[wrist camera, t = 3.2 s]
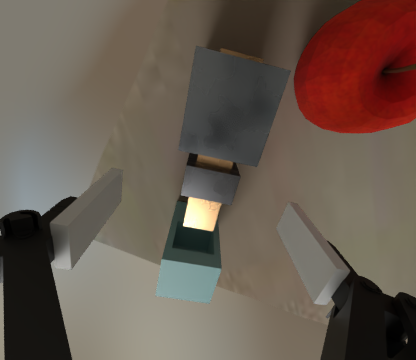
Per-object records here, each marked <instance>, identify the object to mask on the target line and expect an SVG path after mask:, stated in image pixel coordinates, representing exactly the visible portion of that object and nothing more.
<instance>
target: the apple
mask: <svg viewBox="0 0 416 360" xmlns="http://www.w3.org/2000/svg"><path fill="white" fill-rule="evenodd" d="M294 90H295V95H296V99H297V103H298V106H299V109H300V110H301V112H302V113H303V115H304V116H305V118H306V119H307V120H309V121H310V122H312V123H313V124H315V125H317V126H318V127H320V128H322V129H326V130H330V131H334V132H339V133H372V132H376V131H380V130H384V129H388V128H392V127H396V126H399V125H403V124H406V123H410V122H411V121H412V120H414V119H415V118H416V0H361V1H359V2H357V3H355V4H354V5H352V6H350V7H349V8H347V9H345V10H344V11H342V12H341V13H339V14H337V15H336V16H334V17H333V18H332V19H330V20H329V21H328V22H326V23H325V24H324V25H323V26H322V27H321V28H320V29H319V30H318V32H317V33H316V34H315V35H314V36H313V37H312V38H311V40H310V41H309V43H308V45H307V46H306V48H305V49H304V51H303V53H302V55H301V57H300V59H299V62H298V64H297V67H296V71H295V75H294Z"/></svg>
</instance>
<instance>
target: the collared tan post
mask: <svg viewBox="0 0 416 360" xmlns="http://www.w3.org/2000/svg"><path fill="white" fill-rule="evenodd" d="M220 52H222V53H226V54H229V55H233V56H237V57H241V58H244V59H248V60H252V61H256V62H260V63H263V60H264V59H261V58H257V57H253V56H249V55H246V54H242V53H238V52H234V51H231V50H227V49H223V48H221V49H220ZM239 180H240V174H239V171H238V168H237V165H236V162H231V161H227V160H222V159H217V158H213V157H208V156H203V155H199V154H194V153H190V154H189V158H188V162H187V166H186V171H185V176H184V181H183V186H182V192H181V195H182V196H187V197H189V198H188V202H187V207H186V212H185V218H184V224H183V226H186V227H192V228H197V229H203V230H209V231H213V230H214V227H215V223H216V220H217V216H218V213H219V210H220V206H221V203H223V204H228V205H232V202H233V199H234V195H235V192H236V189H237V186H238V183H239Z"/></svg>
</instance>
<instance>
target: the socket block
mask: <svg viewBox="0 0 416 360" xmlns="http://www.w3.org/2000/svg"><path fill="white" fill-rule="evenodd" d="M186 207H187V203H186V202H181V201H177V204H176V208H175V212H174V215H173V219H172V223H171V227H170V230H169V234H168V238H167V242H166V245H165V249H164V253H163V257H162V261H161V267H160V273H159V278H158V284H157V290H156V296H160V297H167V298H175V299H181V300H188V301H195V302H202V303H210V301H211V298H212V295H213V292H214V289H215V286H216V283H217V281H218V278H219V275H220V272H221V269H222V268H221V254H220V241H219V227H218V216H217V220H216V223H215V227H214V230H213V231H209V230H203V229H197V228H192V227H186V226H183V224H184V218H185V212H186Z"/></svg>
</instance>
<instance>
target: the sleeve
mask: <svg viewBox="0 0 416 360" xmlns="http://www.w3.org/2000/svg"><path fill="white" fill-rule="evenodd" d="M290 72H291V71H290V70H286V69H282V68H279V67H275V66H271V65H267V64H263V63H260V62H256V61H252V60H248V59H244V58H241V57H237V56H233V55H229V54H226V53H222V52H218V51H214V50H210V49H207V48H203V47H199V46H196V49H195V55H194V61H193V67H192V73H191V79H190V85H189V91H188V97H187V103H186V108H185V114H184V120H183V126H182V132H181V138H180V144H179V150H180V151H185V152H189V153H194V154H199V155H203V156H208V157H213V158H217V159H222V160H227V161H231V162H236V163H241V164H245V165H250V166H255V167H257V166H258V163H259V160H260V158H261V155H262V152H263V149H264V146H265V143H266V140H267V137H268V135H269V132H270V129H271V126H272V123H273V120H274V117H275V115H276V112H277V109H278V106H279V103H280V100H281V97H282V95H283V92H284V89H285V86H286V83H287V80H288V77H289V75H290Z"/></svg>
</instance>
